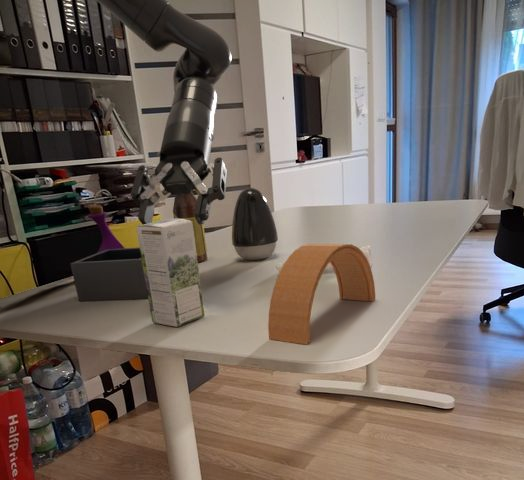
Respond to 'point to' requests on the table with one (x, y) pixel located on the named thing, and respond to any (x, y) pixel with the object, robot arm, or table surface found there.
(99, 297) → the open box
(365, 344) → the table surface
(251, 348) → the table surface
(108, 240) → the purple potion bottle
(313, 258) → the arch
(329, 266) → the figurine
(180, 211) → the sauce bottle
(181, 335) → the table surface
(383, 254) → the table surface
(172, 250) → the syrup box
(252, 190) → the black white egg shape
